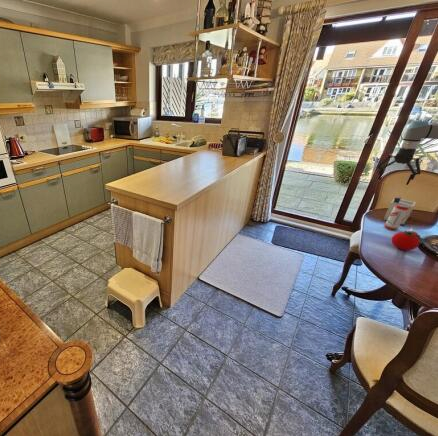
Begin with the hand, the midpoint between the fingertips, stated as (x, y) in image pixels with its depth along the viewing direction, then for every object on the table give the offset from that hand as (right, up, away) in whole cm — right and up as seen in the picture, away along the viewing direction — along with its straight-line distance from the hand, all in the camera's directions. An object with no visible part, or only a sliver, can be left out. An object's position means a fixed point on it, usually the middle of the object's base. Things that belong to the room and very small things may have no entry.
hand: (392, 181), depth 157 cm
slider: (+3, -13, +1) cm, 13 cm away
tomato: (-19, -40, -23) cm, 50 cm away
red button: (-7, -33, -18) cm, 38 cm away
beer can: (-6, -30, -4) cm, 31 cm away
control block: (-7, -36, -17) cm, 40 cm away
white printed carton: (+8, -25, +7) cm, 27 cm away
